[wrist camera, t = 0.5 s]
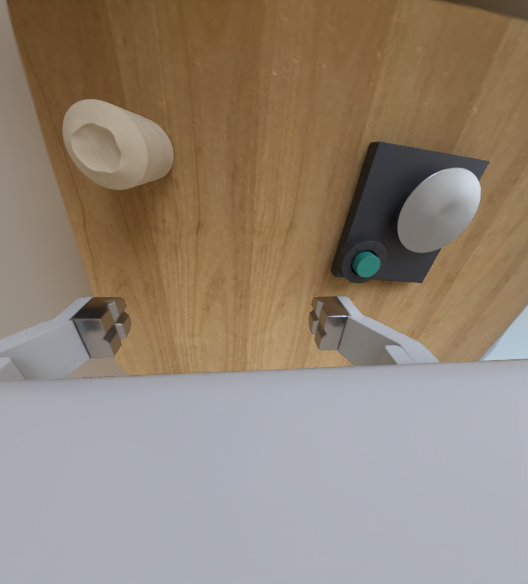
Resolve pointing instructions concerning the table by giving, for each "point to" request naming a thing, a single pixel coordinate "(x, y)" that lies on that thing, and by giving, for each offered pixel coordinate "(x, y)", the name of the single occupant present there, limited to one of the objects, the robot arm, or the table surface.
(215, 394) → the robot arm
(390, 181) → the scale
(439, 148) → the table surface
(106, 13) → the table surface
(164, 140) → the candle
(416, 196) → the silver metal disc
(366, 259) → the button
